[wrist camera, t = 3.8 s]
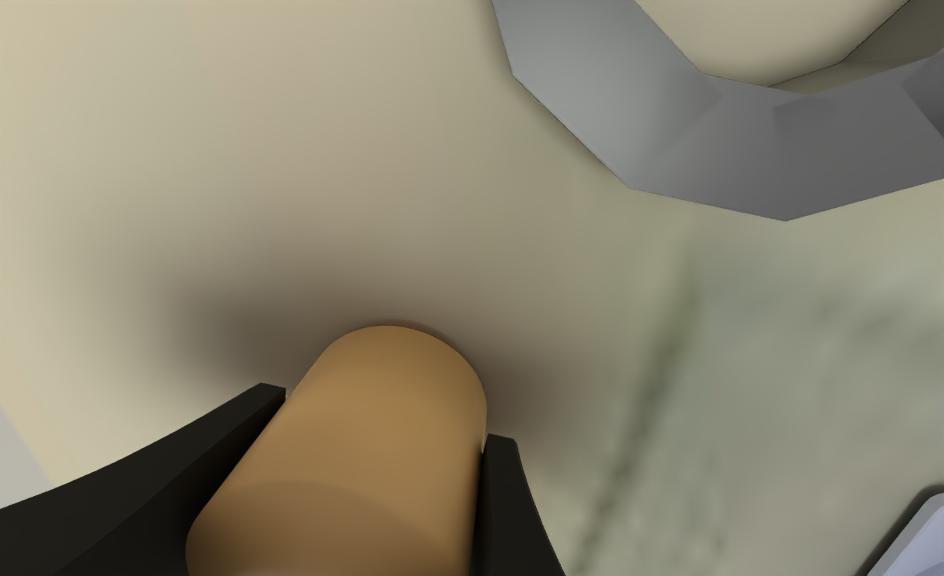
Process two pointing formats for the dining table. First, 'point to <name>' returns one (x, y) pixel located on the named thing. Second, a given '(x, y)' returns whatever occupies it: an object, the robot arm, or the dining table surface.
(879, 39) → the barrel ring
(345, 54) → the dining table surface
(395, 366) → the cap
